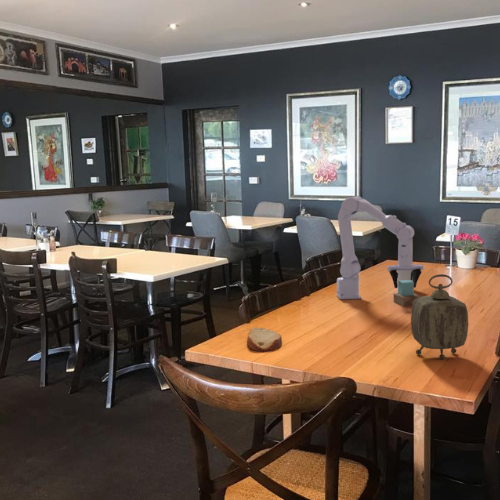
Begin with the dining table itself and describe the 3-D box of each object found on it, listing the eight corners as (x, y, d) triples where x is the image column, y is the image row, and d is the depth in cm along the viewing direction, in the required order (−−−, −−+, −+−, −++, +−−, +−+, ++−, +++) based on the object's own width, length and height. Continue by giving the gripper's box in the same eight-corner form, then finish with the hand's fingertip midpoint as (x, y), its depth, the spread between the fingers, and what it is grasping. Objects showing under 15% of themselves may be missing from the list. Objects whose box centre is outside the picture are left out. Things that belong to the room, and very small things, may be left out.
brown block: (402, 307, 224) (403, 297, 224) (393, 302, 232) (393, 293, 232) (420, 305, 226) (420, 296, 226) (410, 301, 234) (410, 292, 233)
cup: (411, 292, 248) (411, 270, 247) (394, 290, 253) (394, 269, 251) (418, 289, 254) (418, 267, 253) (401, 287, 259) (401, 266, 258)
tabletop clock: (457, 351, 169) (459, 271, 165) (470, 361, 160) (472, 276, 156) (410, 353, 168) (411, 272, 165) (420, 363, 159) (421, 278, 156)
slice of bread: (258, 331, 197) (257, 321, 196) (299, 340, 185) (298, 329, 184) (223, 344, 183) (222, 333, 183) (265, 355, 172) (264, 343, 171)
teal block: (401, 295, 227) (401, 282, 226) (397, 293, 232) (398, 280, 231) (413, 295, 227) (413, 282, 226) (409, 292, 232) (409, 279, 231)
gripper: (390, 257, 224) (390, 290, 225) (426, 256, 224) (425, 288, 226) (385, 254, 231) (385, 286, 232) (420, 253, 231) (419, 285, 233)
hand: (404, 287), depth 230 cm, fingers open, 7 cm apart
